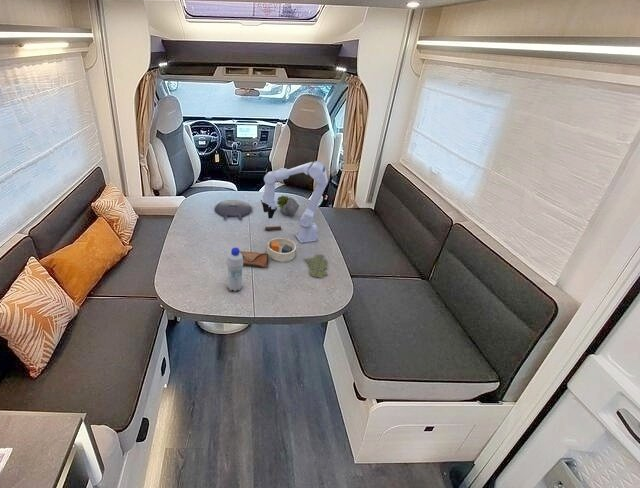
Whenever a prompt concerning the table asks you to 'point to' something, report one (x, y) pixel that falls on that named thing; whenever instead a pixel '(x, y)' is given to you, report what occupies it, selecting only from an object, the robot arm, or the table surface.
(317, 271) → the map
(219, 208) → the toy spaceship
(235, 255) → the bottle
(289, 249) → the slate block
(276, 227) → the stick
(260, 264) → the sunglasses case
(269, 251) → the bowl
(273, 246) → the orange block
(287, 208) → the potted plant
